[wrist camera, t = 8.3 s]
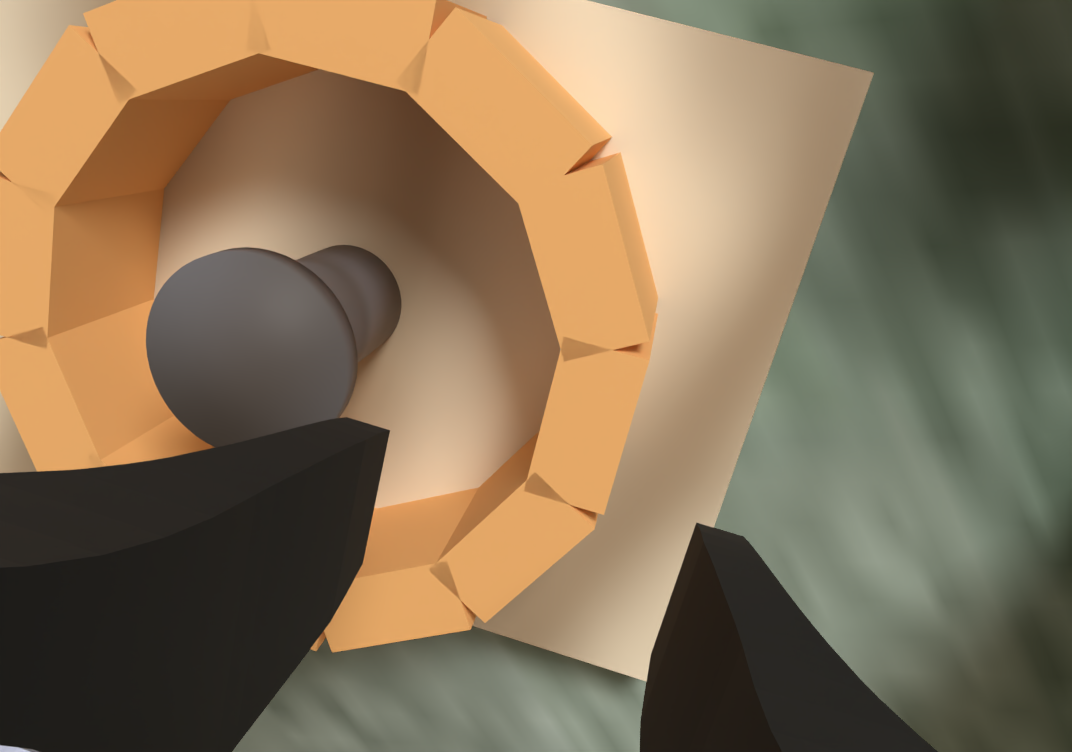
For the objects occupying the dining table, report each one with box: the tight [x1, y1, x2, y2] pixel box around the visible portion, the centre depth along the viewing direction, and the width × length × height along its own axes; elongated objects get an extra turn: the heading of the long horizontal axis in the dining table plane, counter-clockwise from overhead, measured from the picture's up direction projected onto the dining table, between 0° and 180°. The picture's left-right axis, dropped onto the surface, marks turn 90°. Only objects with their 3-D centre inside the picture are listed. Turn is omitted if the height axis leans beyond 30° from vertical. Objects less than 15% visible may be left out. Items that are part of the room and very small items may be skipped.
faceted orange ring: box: [0, 0, 658, 653], centre depth 18 cm, size 12×12×4 cm
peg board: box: [0, 0, 874, 682], centre depth 18 cm, size 18×14×6 cm
